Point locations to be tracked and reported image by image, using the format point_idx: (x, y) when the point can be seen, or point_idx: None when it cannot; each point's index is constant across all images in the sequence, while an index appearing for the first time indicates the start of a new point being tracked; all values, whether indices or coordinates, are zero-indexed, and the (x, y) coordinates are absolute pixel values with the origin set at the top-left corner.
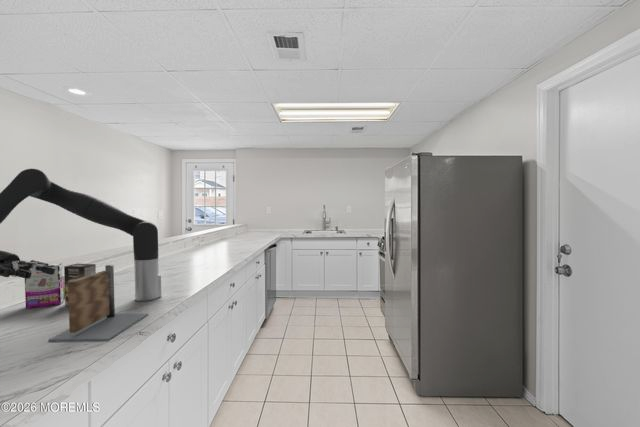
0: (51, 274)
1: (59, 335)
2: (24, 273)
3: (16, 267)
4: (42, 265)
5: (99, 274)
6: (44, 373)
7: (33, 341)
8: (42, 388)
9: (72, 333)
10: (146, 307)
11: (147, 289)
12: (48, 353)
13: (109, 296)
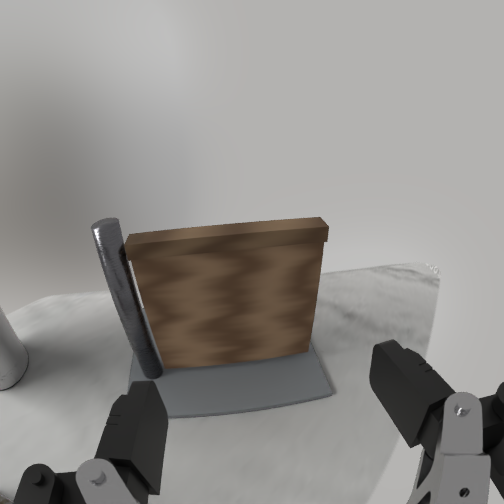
0: (166, 419)
1: (305, 390)
2: (415, 356)
3: (457, 443)
4: (118, 475)
5: (187, 230)
6: (400, 293)
7: (343, 430)
8: (412, 271)
9: (285, 373)
10: (81, 339)
11: (12, 333)
12: (368, 340)
13: (145, 321)
